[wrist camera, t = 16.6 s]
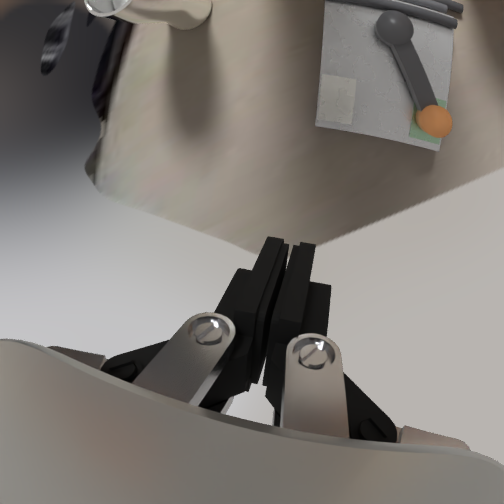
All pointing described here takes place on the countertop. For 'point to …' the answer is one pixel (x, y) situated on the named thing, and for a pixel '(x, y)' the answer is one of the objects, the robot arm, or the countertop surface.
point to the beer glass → (153, 11)
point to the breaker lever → (413, 72)
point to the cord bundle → (418, 9)
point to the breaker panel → (377, 74)
